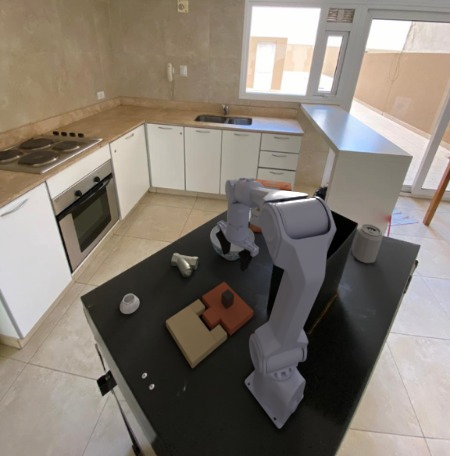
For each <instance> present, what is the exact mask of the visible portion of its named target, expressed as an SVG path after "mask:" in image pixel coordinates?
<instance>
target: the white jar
mask: <svg viewBox="0 0 450 456" xmlns="http://www.w3.org/2000/svg"><path fill="white" fill-rule="evenodd" d="M140 303H141V302H140V299H139V297H138V296H137V295H135V294H134V293H127V294H126V295H124V296H123V298H122V300H121V302H120V303H119V311H120V312H121V314H124V315H130V314H132V313H134V312H135V311H137V310H138V308H140Z"/></svg>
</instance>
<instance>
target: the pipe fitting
mask: <svg viewBox="0 0 450 456" xmlns="http://www.w3.org/2000/svg"><path fill="white" fill-rule="evenodd" d="M170 261H171V262H170V265H171V267H177V268H178V270H179V271H180V273H181V275H182V277H184V278H188V277H189V278H190V277H191V275H192V273H193V270H194V271H196V270H197V268H198V264H199V257H198V256H188V255H184V254H180V253H178V252H174V253H173V254H172V257H171V260H170Z"/></svg>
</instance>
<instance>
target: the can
mask: <svg viewBox="0 0 450 456" xmlns="http://www.w3.org/2000/svg"><path fill="white" fill-rule="evenodd" d="M382 232H383V231H382V230H381V229H380V228H379V227H378V226H376V225H373V224H371V223H363V224H361V226H360V227H358V228H357V232H356V236H355V239H354V242H353V247H352V250H351V253H352V255H353V256H354V257H355V259H356V260H358V261H359V262H361V263H365V264H372V263H374V262H376V260H377V257H378V255H379V251H380V247H381V245H382V241H383V239H384V235H383V233H382Z"/></svg>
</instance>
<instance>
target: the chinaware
mask: <svg viewBox="0 0 450 456" xmlns="http://www.w3.org/2000/svg"><path fill="white" fill-rule="evenodd" d="M225 222H226V223H227V221H225ZM248 230H249V233H248V235H249V236H250V237H251V239H252V240H253V242H254V243H255V233H254V231H252V230H251V229H250V228H249V227H248ZM217 232H219V229H218V228H217V225H215V226H214V227H213V228H212V229H211V231H210V233H209V234H210V235H209V237H210V242H211V245H212V247H213V249H214V250H215V252H216V253H217V254H218V255H219V256H221V258H222V257H223V258H224V259H225V260H227V261H237V260H238V259H240V257H239V255H238V253H239V252H240V251H242V250H244V248H242V247H240V246H237V245H235V244H232V243H231V248H230V252H229V253H227V254H225V255H224V254H223V252H222V249H221V245H220V242H219V240H218V238H217V237H216V233H217Z"/></svg>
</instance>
